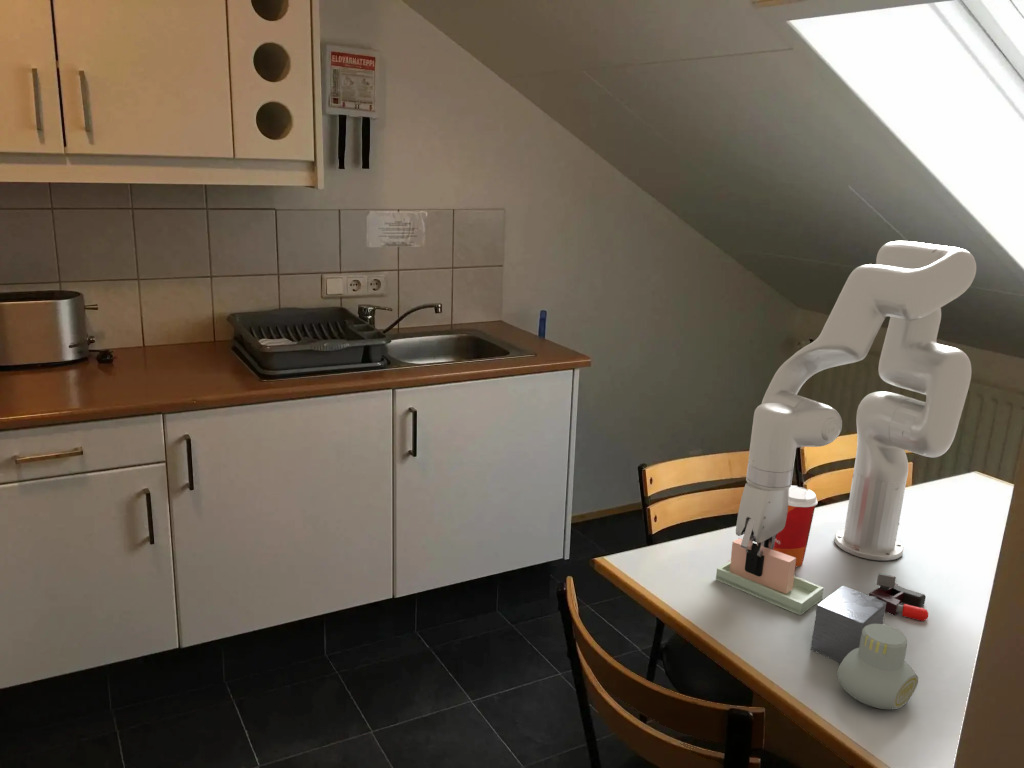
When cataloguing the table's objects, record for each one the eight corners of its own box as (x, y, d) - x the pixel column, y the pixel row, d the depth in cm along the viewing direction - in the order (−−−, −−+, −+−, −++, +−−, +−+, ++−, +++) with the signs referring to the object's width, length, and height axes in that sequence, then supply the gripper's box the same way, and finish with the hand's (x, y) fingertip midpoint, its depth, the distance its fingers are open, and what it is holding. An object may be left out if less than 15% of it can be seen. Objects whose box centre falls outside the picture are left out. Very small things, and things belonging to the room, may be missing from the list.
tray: (739, 565, 157) (740, 554, 157) (822, 598, 146) (823, 587, 146) (715, 579, 151) (717, 568, 151) (800, 615, 141) (801, 603, 140)
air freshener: (865, 668, 127) (875, 609, 124) (920, 695, 121) (932, 633, 118) (827, 695, 120) (837, 633, 117) (883, 726, 114) (895, 661, 111)
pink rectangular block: (736, 568, 154) (739, 537, 153) (792, 589, 147) (796, 557, 145) (729, 572, 153) (732, 541, 151) (786, 594, 145) (789, 562, 144)
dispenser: (832, 627, 137) (839, 584, 135) (878, 646, 132) (886, 602, 130) (807, 648, 131) (814, 603, 129) (854, 669, 126) (862, 623, 124)
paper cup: (776, 547, 165) (784, 481, 161) (814, 560, 160) (824, 492, 157) (759, 560, 159) (768, 492, 155) (799, 574, 155) (809, 504, 151)
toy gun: (851, 610, 144) (855, 584, 142) (887, 590, 151) (891, 566, 149) (906, 636, 136) (911, 609, 135) (941, 614, 143) (946, 588, 142)
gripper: (771, 458, 153) (760, 550, 158) (726, 479, 142) (714, 577, 147) (810, 470, 148) (797, 564, 153) (766, 492, 137) (753, 594, 142)
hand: (757, 570), depth 150 cm, fingers closed on pink rectangular block, 2 cm apart
